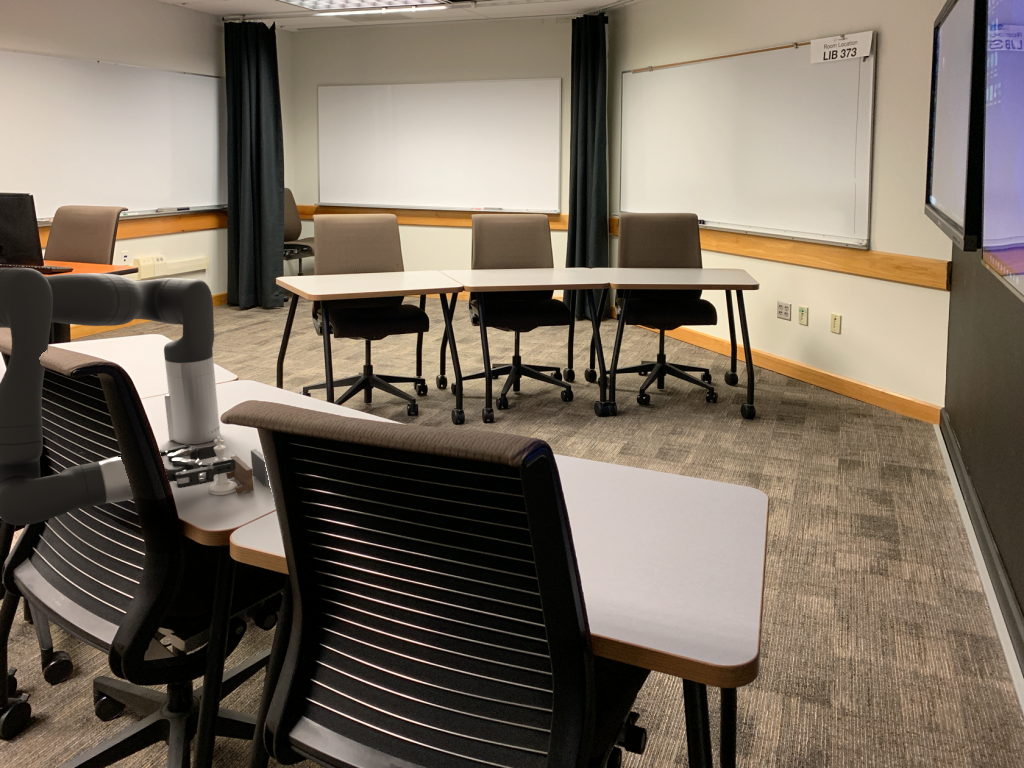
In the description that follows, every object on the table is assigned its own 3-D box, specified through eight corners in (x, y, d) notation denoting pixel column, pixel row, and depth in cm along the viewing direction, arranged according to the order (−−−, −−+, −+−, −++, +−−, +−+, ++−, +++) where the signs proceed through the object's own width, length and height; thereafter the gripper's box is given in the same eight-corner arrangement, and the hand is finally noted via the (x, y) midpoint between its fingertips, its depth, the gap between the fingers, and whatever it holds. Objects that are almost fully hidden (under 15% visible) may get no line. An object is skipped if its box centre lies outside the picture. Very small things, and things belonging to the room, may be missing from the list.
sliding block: (237, 494, 154) (235, 472, 153) (222, 479, 161) (220, 458, 160) (253, 490, 156) (252, 469, 155) (238, 475, 162) (236, 455, 161)
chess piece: (229, 496, 154) (224, 442, 151) (203, 493, 155) (198, 440, 152) (242, 485, 159) (238, 433, 156) (217, 483, 160) (213, 431, 157)
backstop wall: (266, 487, 158) (264, 461, 157) (252, 475, 163) (250, 450, 162) (271, 486, 159) (269, 460, 157) (257, 474, 164) (255, 449, 163)
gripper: (138, 468, 140) (238, 448, 149) (117, 443, 152) (212, 425, 161) (143, 511, 142) (242, 489, 152) (123, 483, 154) (216, 464, 163)
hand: (226, 456), depth 156 cm, fingers open, 8 cm apart
